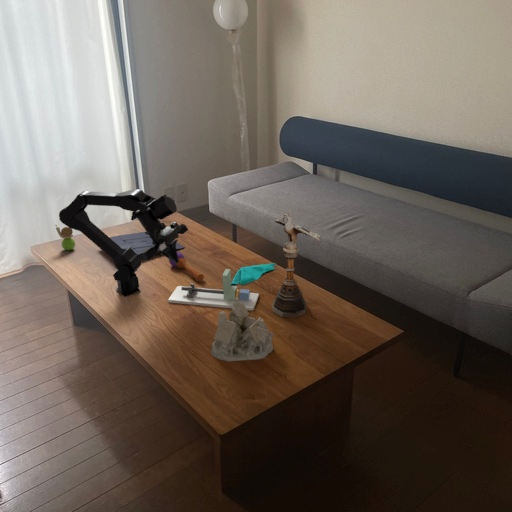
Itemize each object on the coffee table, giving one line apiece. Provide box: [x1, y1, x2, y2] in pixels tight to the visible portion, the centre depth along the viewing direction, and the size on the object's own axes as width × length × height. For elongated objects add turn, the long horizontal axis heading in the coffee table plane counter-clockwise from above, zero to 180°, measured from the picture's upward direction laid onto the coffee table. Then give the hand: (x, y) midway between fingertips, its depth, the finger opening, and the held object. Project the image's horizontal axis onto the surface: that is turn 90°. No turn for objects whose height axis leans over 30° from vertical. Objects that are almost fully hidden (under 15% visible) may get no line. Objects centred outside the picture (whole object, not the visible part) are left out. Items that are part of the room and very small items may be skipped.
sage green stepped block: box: [221, 268, 238, 300], centre depth 175 cm, size 4×5×10 cm
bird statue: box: [271, 213, 322, 319], centre depth 167 cm, size 17×13×35 cm
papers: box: [108, 231, 186, 254], centre depth 218 cm, size 24×30×4 cm
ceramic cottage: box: [210, 297, 275, 362], centre depth 149 cm, size 16×16×15 cm
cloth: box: [231, 262, 277, 286], centre depth 196 cm, size 26×14×2 cm, turn 125°
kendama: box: [168, 251, 205, 283], centre depth 197 cm, size 6×6×20 cm
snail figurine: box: [55, 224, 76, 251], centre depth 215 cm, size 5×6×12 cm
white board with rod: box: [167, 282, 260, 312], centre depth 178 cm, size 30×10×5 cm, turn 78°
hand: (177, 262), depth 176 cm, fingers closed
